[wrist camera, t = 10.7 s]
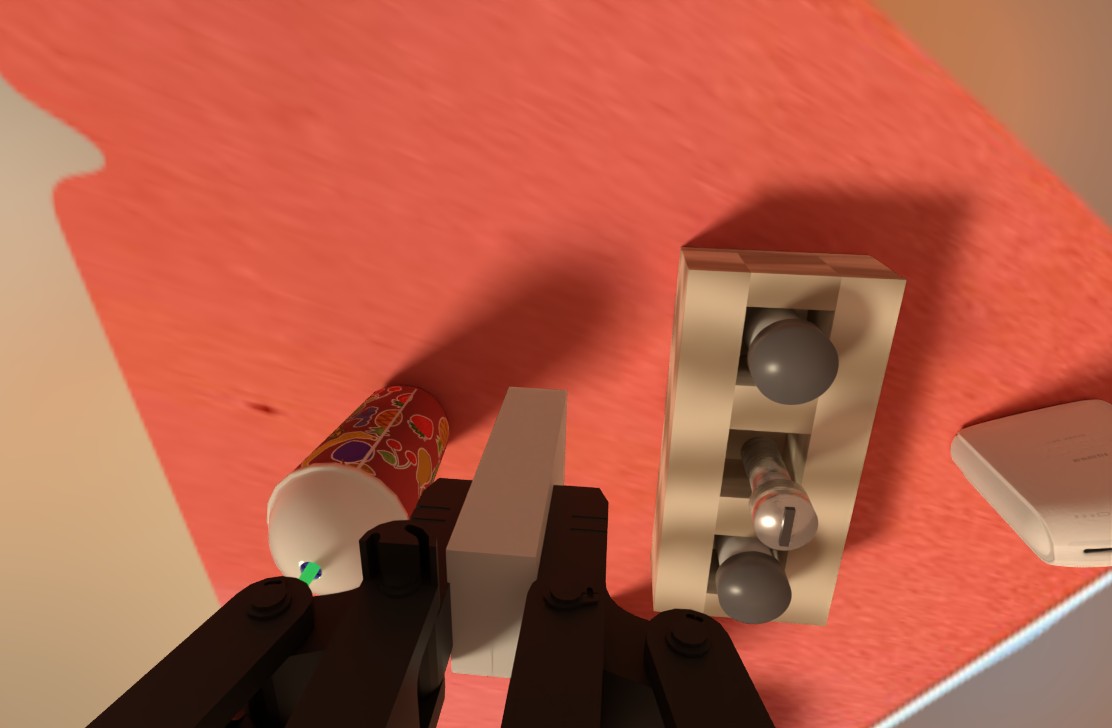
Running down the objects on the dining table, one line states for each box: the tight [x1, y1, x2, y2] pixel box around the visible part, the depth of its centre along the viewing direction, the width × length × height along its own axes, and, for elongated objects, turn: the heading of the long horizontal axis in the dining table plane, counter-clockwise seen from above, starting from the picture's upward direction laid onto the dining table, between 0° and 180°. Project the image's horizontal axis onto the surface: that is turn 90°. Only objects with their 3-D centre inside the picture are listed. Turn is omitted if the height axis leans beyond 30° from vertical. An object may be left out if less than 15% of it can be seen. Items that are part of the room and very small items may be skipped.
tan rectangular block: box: [651, 247, 907, 626], centre depth 45 cm, size 25×12×6 cm, turn 179°
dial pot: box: [740, 436, 818, 550], centre depth 40 cm, size 3×3×8 cm
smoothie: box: [267, 385, 450, 595], centre depth 41 cm, size 8×8×20 cm
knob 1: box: [742, 307, 839, 405], centre depth 40 cm, size 5×5×8 cm
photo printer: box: [951, 399, 1112, 567], centre depth 40 cm, size 10×4×12 cm, turn 108°
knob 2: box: [714, 534, 792, 624], centre depth 46 cm, size 5×5×8 cm
